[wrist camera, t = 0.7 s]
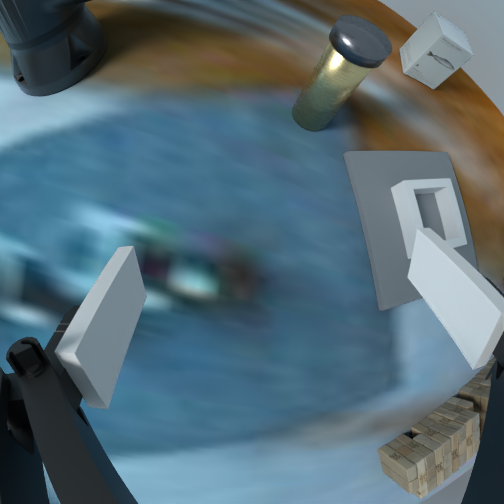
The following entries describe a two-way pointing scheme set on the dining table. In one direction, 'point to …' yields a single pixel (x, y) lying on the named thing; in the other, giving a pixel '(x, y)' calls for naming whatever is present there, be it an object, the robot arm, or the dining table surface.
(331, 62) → the lidded glass jar
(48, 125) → the dining table surface
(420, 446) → the block tower
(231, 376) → the dining table surface
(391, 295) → the socket plate
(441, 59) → the supplement box
